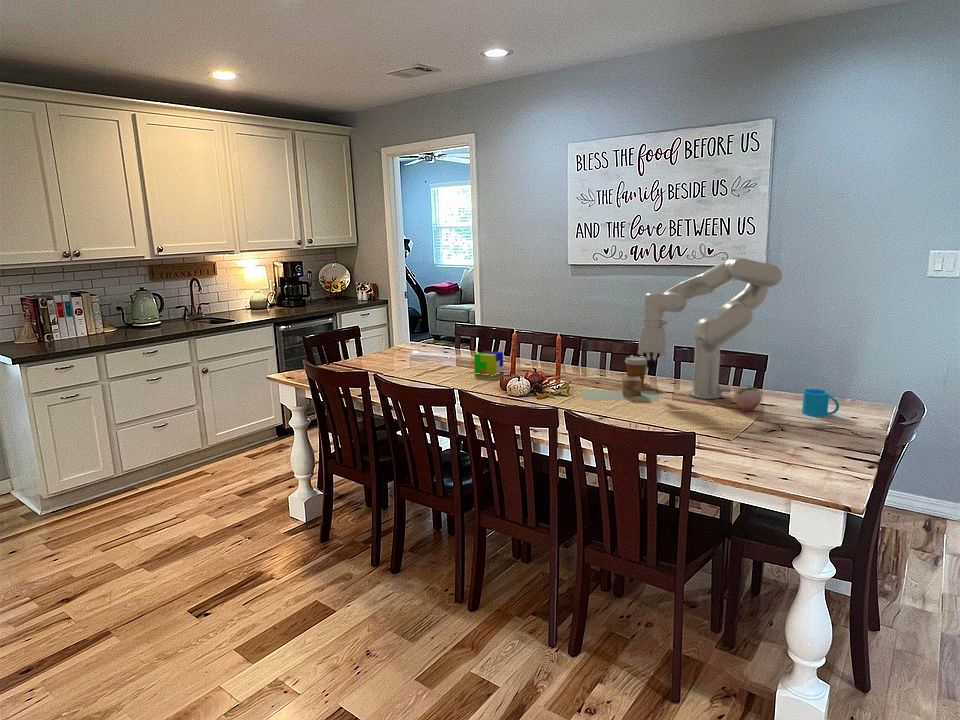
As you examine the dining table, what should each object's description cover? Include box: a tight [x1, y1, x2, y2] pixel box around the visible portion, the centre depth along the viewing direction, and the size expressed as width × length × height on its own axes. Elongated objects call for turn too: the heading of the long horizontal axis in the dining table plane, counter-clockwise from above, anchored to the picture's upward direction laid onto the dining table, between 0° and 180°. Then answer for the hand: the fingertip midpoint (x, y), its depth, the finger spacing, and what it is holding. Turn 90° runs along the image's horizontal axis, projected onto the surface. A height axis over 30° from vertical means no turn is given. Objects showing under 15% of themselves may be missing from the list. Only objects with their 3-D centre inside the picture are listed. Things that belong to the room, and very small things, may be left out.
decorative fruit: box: [733, 385, 762, 413], centre depth 235 cm, size 9×8×10 cm
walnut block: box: [621, 376, 642, 398], centre depth 261 cm, size 7×7×7 cm
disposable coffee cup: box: [624, 356, 647, 387], centre depth 278 cm, size 10×10×12 cm
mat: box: [582, 389, 661, 402], centre depth 262 cm, size 30×15×1 cm, turn 82°
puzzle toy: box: [473, 350, 504, 375], centre depth 308 cm, size 10×10×10 cm
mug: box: [801, 388, 840, 418], centre depth 230 cm, size 12×8×8 cm
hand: (650, 369), depth 258 cm, fingers closed
